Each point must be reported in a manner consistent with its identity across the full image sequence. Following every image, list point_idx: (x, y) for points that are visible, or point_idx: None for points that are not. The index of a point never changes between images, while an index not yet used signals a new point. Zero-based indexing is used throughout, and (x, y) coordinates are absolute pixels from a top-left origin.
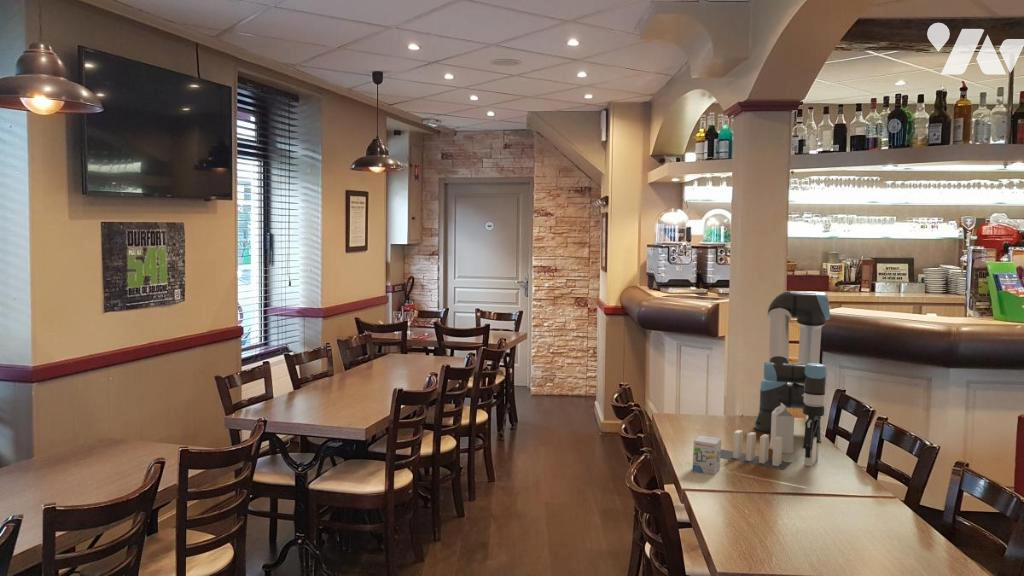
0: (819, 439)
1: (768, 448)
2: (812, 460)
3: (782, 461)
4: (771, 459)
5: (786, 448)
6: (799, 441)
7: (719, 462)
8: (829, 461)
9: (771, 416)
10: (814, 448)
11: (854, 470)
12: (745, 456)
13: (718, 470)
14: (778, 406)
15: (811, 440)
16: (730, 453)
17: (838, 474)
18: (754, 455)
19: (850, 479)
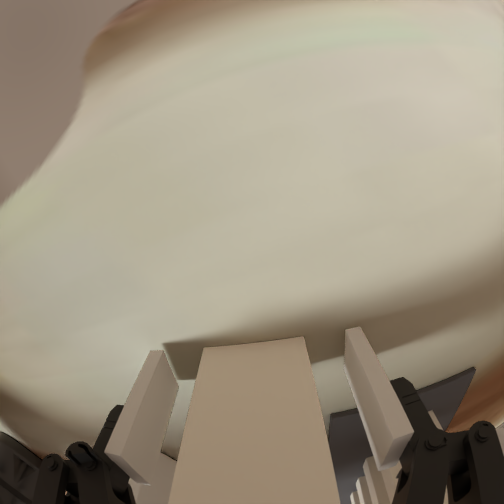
0: (63, 466)
1: (379, 499)
2: (310, 364)
3: (345, 438)
4: (342, 461)
5: (171, 477)
6: (20, 421)
7: (501, 442)
8: (87, 289)
9: (33, 494)
10: (257, 450)
11: (157, 55)
12: (355, 488)
13: (500, 426)
14: (10, 502)
15: (488, 497)
16: (347, 502)
17: (381, 108)
18: (367, 484)
19: (418, 28)
